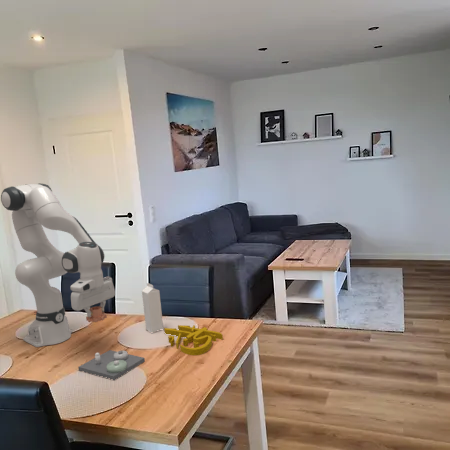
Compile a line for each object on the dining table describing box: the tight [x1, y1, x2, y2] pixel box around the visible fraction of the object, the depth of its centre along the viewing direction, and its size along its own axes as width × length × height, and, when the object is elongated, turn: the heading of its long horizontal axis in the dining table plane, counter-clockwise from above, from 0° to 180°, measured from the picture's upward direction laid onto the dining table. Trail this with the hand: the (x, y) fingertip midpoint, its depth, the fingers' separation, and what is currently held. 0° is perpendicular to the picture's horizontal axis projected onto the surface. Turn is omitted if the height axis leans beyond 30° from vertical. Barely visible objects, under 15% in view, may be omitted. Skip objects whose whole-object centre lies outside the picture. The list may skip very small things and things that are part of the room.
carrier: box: [77, 349, 146, 381], centre depth 165 cm, size 19×16×6 cm
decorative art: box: [163, 324, 224, 356], centre depth 184 cm, size 21×3×30 cm
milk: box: [141, 282, 164, 333], centre depth 198 cm, size 6×6×22 cm
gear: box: [85, 305, 108, 323], centre depth 178 cm, size 8×8×5 cm
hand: (96, 313), depth 178 cm, fingers closed on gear, 5 cm apart
